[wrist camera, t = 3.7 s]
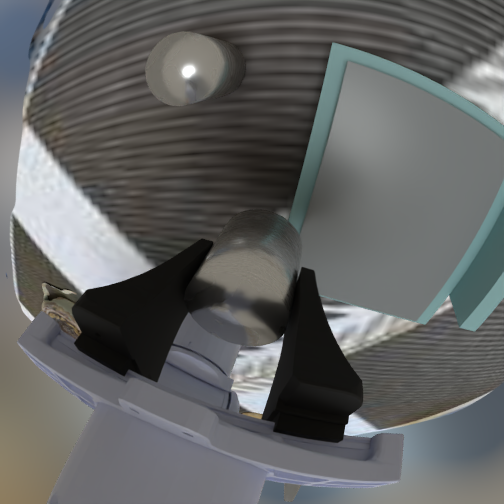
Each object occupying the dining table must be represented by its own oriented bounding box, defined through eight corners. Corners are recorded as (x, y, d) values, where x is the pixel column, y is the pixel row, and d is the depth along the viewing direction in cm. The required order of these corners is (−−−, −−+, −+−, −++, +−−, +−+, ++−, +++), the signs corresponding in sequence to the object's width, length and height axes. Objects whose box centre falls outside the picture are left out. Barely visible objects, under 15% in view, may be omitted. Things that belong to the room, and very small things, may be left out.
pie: (108, 301, 38) (91, 324, 34) (156, 381, 55) (147, 398, 51) (28, 269, 44) (14, 283, 40) (76, 344, 61) (67, 356, 57)
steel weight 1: (240, 102, 17) (211, 110, 13) (183, 94, 17) (143, 103, 13) (250, 42, 14) (223, 31, 10) (190, 39, 14) (150, 33, 10)
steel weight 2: (292, 285, 16) (276, 355, 12) (220, 266, 17) (187, 328, 13) (311, 221, 13) (300, 291, 9) (225, 201, 14) (181, 259, 10)
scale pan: (414, 314, 20) (415, 321, 19) (285, 277, 21) (283, 284, 21) (508, 145, 10) (515, 149, 9) (346, 62, 11) (347, 61, 11)
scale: (437, 310, 22) (448, 359, 17) (276, 263, 24) (260, 313, 19) (527, 151, 11) (570, 181, 6) (331, 47, 13) (333, 30, 8)
